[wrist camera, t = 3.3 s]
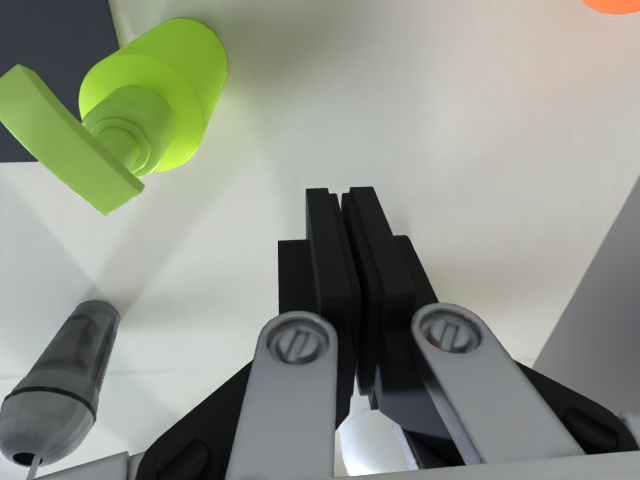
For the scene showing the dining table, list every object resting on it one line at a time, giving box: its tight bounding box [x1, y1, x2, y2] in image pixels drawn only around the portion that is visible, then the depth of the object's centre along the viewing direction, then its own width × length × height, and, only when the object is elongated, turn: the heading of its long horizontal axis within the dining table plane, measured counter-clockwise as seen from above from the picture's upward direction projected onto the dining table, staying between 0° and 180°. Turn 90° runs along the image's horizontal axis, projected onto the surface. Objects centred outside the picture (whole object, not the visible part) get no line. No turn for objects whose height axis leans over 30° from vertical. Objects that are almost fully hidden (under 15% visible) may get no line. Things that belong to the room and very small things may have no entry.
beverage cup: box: [0, 301, 120, 480], centre depth 37 cm, size 7×7×20 cm
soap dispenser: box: [0, 18, 228, 216], centre depth 23 cm, size 6×7×20 cm
